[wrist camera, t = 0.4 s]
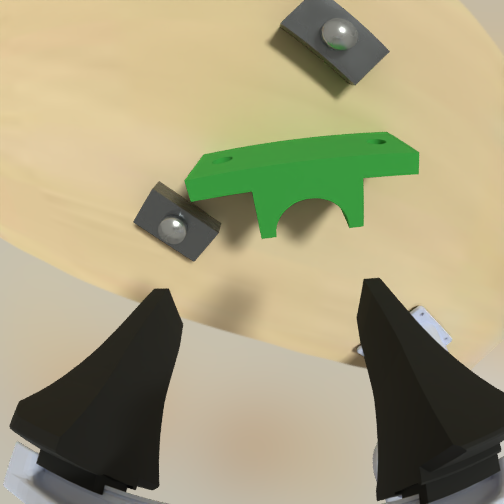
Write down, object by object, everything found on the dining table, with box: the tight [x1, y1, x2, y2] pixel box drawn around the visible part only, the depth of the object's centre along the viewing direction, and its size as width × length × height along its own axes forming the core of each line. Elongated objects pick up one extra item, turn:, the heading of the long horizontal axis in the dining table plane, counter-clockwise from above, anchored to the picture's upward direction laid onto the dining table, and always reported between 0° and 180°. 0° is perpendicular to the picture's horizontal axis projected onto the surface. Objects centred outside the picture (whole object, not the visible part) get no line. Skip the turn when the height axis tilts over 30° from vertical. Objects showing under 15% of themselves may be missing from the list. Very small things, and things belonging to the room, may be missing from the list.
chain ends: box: [134, 0, 390, 261], centre depth 15 cm, size 5×18×2 cm, turn 142°
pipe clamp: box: [185, 132, 419, 239], centre depth 15 cm, size 11×4×5 cm, turn 101°
